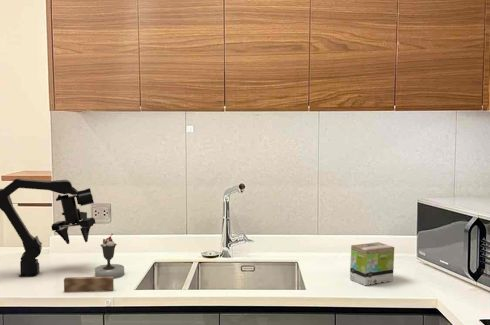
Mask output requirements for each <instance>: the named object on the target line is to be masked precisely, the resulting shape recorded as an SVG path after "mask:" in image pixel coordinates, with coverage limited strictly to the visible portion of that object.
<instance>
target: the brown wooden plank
mask: <svg viewBox="0 0 490 325" xmlns="http://www.w3.org/2000/svg"><path fill="white" fill-rule="evenodd" d="M114 283H115V282H114V279H113V277H95V276H77V277H69V276H68V277H64V279H63V292H64V293H78V292H79V293H80V292H81V293H83V292H84V293H86V292H88V293H89V292H113V291H114V286H115V285H114Z"/></svg>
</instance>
